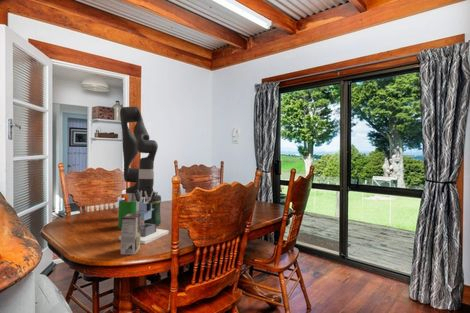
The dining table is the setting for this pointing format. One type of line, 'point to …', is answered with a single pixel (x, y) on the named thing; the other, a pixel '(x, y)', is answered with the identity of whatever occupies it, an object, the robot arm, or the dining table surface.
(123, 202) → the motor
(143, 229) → the board
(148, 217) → the block
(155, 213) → the coffee jar
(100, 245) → the dining table surface
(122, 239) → the coffee box
